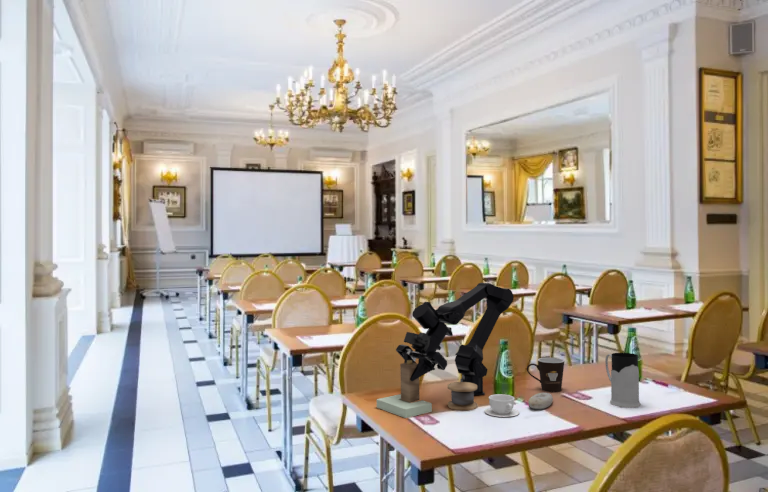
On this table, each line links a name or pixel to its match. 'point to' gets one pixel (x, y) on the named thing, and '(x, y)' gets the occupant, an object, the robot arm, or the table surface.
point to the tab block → (409, 382)
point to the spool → (462, 396)
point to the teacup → (501, 406)
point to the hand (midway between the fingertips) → (406, 379)
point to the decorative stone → (540, 400)
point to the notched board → (403, 406)
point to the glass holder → (624, 380)
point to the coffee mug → (550, 373)
